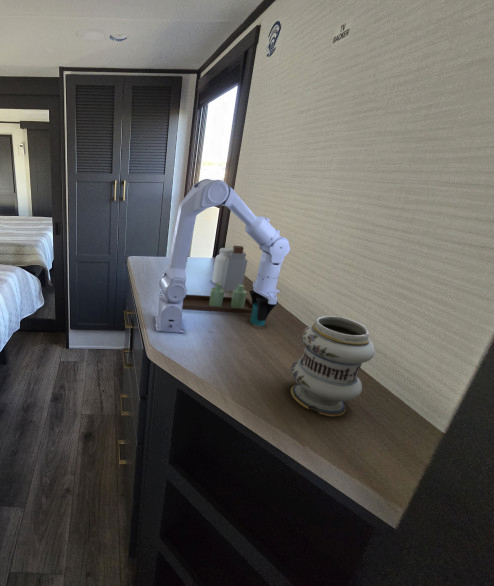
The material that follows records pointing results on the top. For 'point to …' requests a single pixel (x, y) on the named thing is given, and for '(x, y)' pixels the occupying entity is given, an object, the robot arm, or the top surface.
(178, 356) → the top surface
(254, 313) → the teal bottle
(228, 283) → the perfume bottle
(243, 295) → the green bottle far
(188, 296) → the tray
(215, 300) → the green bottle middle
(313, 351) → the apothecary jar
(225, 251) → the pill bottle
